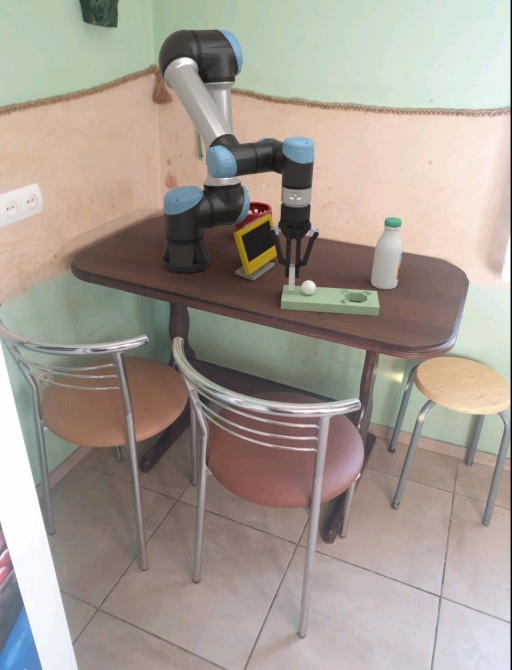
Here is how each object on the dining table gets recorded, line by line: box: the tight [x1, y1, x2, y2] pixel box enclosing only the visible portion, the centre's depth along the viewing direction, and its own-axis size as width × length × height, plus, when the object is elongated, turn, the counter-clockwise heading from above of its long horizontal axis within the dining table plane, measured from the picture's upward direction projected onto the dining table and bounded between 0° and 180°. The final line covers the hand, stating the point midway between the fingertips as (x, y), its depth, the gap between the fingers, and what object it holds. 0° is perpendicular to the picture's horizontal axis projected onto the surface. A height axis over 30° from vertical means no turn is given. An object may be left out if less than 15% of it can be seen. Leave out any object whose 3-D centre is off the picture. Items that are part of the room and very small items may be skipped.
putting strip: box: [280, 284, 381, 317], centre depth 148 cm, size 26×10×2 cm, turn 83°
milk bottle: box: [370, 216, 404, 291], centre depth 155 cm, size 8×8×20 cm
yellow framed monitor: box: [233, 214, 277, 282], centre depth 164 cm, size 20×8×16 cm, turn 151°
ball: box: [300, 279, 317, 295], centre depth 147 cm, size 4×4×4 cm
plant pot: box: [234, 201, 273, 232], centre depth 187 cm, size 13×13×12 cm
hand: (291, 288), depth 148 cm, fingers closed
